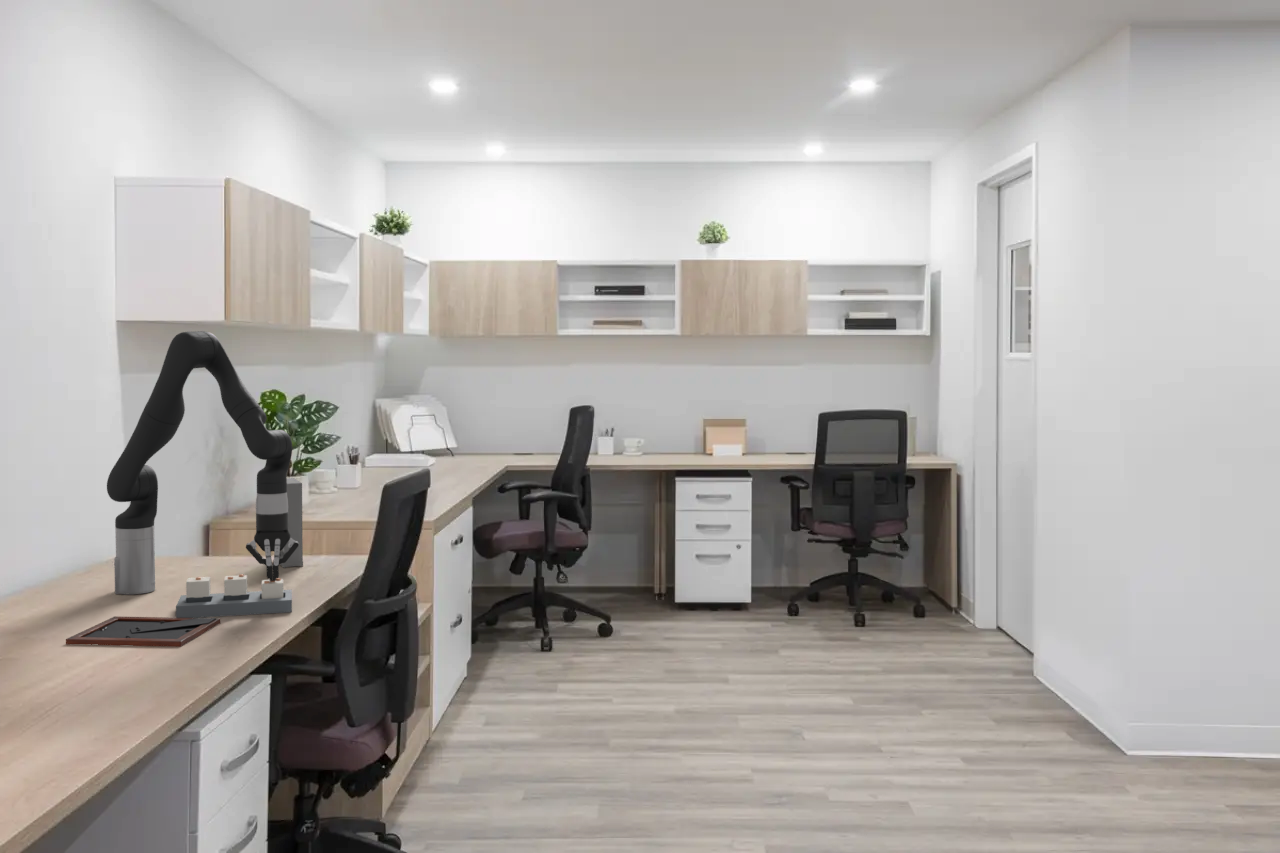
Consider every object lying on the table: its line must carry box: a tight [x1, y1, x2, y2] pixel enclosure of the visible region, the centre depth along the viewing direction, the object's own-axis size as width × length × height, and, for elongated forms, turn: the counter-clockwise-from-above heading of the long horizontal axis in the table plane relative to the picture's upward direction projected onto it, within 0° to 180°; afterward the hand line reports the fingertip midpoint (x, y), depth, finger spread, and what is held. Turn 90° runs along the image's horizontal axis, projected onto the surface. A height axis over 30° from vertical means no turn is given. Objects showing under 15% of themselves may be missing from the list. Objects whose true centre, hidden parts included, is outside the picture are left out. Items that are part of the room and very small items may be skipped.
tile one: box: [185, 576, 211, 598], centre depth 253 cm, size 5×5×5 cm
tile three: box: [261, 577, 284, 599], centre depth 259 cm, size 5×5×5 cm
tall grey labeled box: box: [279, 477, 304, 569], centre depth 314 cm, size 14×6×25 cm, turn 28°
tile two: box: [223, 573, 248, 596], centre depth 256 cm, size 5×5×5 cm
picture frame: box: [65, 615, 221, 648], centre depth 234 cm, size 20×2×25 cm
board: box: [175, 589, 293, 618], centre depth 256 cm, size 26×12×3 cm, turn 108°
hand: (272, 580), depth 258 cm, fingers closed
